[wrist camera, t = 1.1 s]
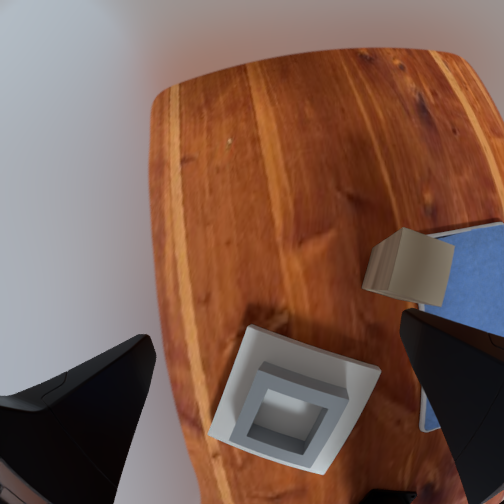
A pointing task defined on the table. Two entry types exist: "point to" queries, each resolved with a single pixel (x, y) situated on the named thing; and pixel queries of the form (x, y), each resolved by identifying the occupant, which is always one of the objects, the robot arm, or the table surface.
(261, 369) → the socket board
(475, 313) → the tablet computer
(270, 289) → the table surface
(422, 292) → the peg
